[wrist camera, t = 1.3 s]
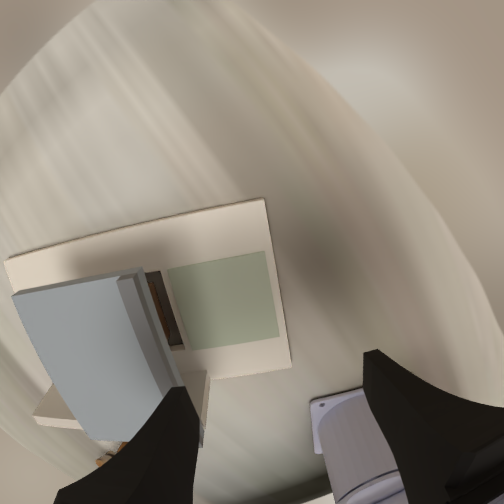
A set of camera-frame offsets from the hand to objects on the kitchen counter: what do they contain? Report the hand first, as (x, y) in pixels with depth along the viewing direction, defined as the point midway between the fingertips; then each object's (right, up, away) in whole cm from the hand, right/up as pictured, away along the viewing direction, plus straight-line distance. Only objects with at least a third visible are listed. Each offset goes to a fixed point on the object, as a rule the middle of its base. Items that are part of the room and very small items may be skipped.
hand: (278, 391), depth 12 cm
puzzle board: (-9, +1, +9) cm, 13 cm away
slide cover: (-9, -1, +3) cm, 10 cm away
